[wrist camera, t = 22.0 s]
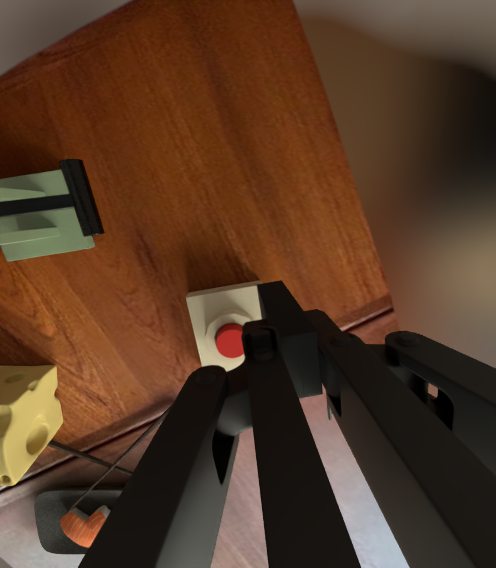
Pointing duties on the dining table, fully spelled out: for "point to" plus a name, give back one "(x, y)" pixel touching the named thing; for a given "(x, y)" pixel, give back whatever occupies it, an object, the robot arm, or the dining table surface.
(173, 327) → the dining table surface
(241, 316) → the control block
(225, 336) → the stop button
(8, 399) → the cheese
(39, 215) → the switch bracket
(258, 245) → the dining table surface
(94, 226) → the lever
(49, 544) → the sushi plate
